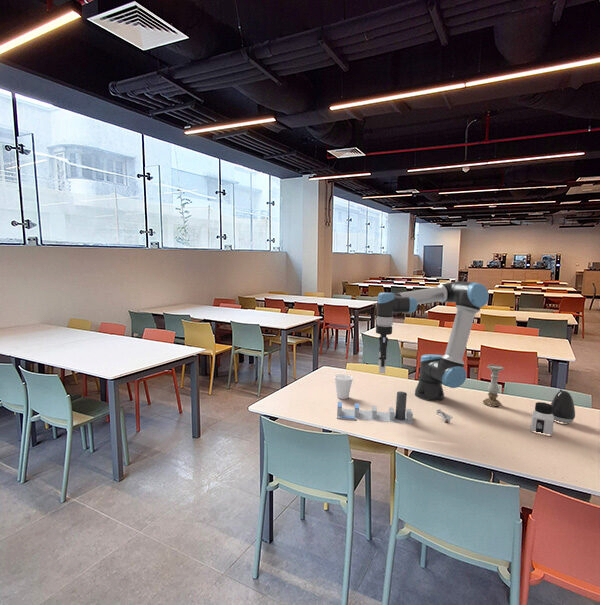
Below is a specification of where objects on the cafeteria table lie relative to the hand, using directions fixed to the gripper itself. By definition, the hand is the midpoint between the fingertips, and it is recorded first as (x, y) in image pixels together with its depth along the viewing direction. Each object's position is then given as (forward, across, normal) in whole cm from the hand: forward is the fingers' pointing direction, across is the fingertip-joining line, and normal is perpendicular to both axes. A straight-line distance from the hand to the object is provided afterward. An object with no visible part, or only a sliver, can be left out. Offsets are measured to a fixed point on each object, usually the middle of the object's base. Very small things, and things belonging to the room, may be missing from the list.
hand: (381, 369), depth 182 cm
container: (+22, +4, +70) cm, 74 cm away
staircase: (+22, +5, +29) cm, 37 cm away
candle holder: (+21, -26, +59) cm, 68 cm away
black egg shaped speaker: (+21, -11, +85) cm, 88 cm away
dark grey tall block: (+21, +7, +9) cm, 24 cm away
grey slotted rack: (+21, +7, -3) cm, 23 cm away
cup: (+21, -15, -19) cm, 32 cm away
